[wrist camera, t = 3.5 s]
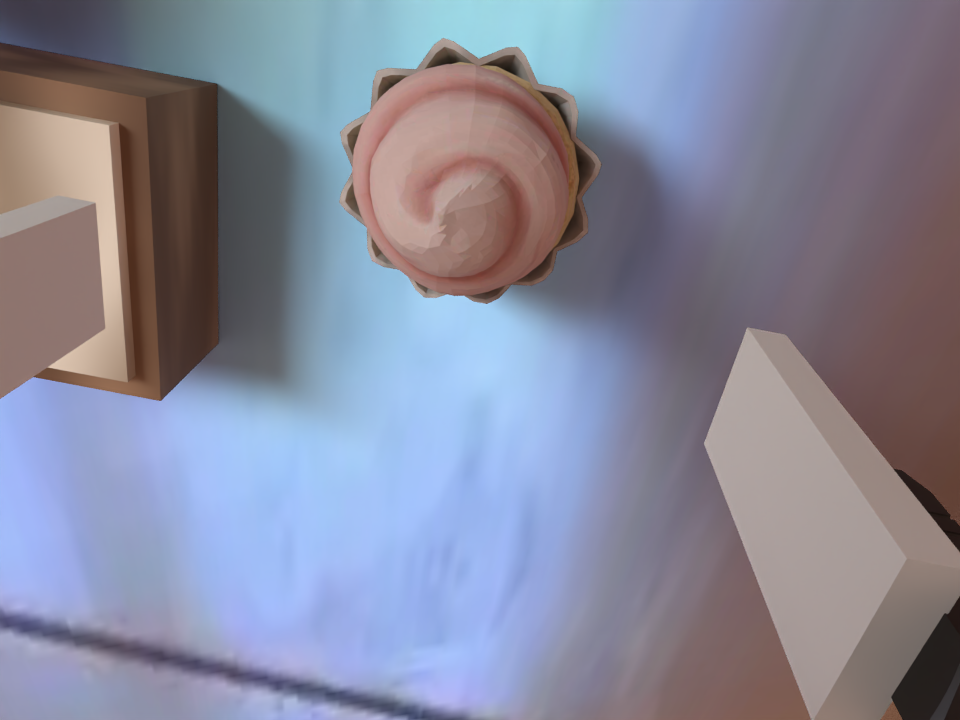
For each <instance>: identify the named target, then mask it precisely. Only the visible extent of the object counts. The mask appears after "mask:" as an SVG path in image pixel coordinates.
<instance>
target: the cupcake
mask: <svg viewBox="0 0 960 720" xmlns="http://www.w3.org/2000/svg"><path fill="white" fill-rule="evenodd" d="M577 118H578V109H577V106H576V103H575V99H574V97H573V96H572V95H570V94H569V93H568V92H566V91H565V90H563V89H562V88H556V87H551V86H546V85H541V84H538V82H537V80H536V78H535V76H534V73H533V71H532V69H531V67H530V65H529V62H528V60H527V58H526V56H525V55H524V53H523V52H522V51H521V50H520V49H519V48H518V47H509V48H505V49H502V50H500V51H497V52H495V53H492V54H490V55H487V56H485V57H482V58H480V59H478V58H477V57H475V56H474V55H473V54H471V53H470V52H468V51H467V50H465V49H464V48H463V47H461V46H460V45H458V44H457V43H455V42H454V41H451V40H448V39H445V38H442V39H441V40H440V41H439V42H437V43H436V44H435V45H434V46H433V47H432V48H431V50H430V51H429V53H428V54H427V55H426V57H425V58H424V59H423V61H422V62H421V64H420V65H419V66H418V68H417V69H396V68H386V69H382V70H379V71H377V73H376V75H375V78H374V81H373V89H372V100H371V111H370V112H368V113H367V114H365V115H363V116H361V117H360V118H358V119H356V120H354V121H353V122H351V123H349V124H347V125H346V126H345V128H344V129H343V130H342V131H341V132H340V134H341V141H342V145H343V147H344V149H345V151H346V154H347V156H348V158H349V161H350V163H351V165H352V173H351V175H350V177H349V179H348V181H347V183H346V184H345V186H344V188H343V190H342V192H341V196H340V201H339V202H340V204H341V205H342V206H343V208H344V209H345V210H346V211H347V212H348V213H349V214H351V215H352V216H353V217H354V218H356V219H357V220H358V221H359V222H361V223H362V224H363V225H364V226H366V227H367V247H368V251H369V254H370V257H371V259H372V261H374V262H375V263H377V264H379V265H381V266H383V267H387V268H393V269H398V270H400V271H401V272H403V273H404V274H405V275H407V276H408V277H409V279H410V281H411V282H412V284H413V286H414V288H415V289H416V290H417V291H418V292H419V293H420V294H421V295H422V296H423V297H425V298H437V297H440V296H443V295H446V294H449V295H454V296H465V297H467V298H469V299H470V300H472V301H474V302H480V303H485V304H488V303H490V302H492V301H494V300H496V299H498V298H500V297H501V295H502V294H503V293H504V292H505V291H506V290H507V289H508V288H509V287H510V286H511V285H512V284H514V285H529V286H532V285H534V284H537V283H539V282H541V281H544V280H545V279H546V277H547V276H548V275H549V274H550V273H551V272H552V271H553V267H554V263H555V259H556V254H557V251H559V250H561V249H563V248H565V247H568V246H570V245H572V244H574V243H576V242H578V241H579V240H580V239H581V238H582V237H583V236H584V235H586V234H587V233H588V217H587V214H586V211H585V208H584V204H583V201H582V196H583V195H584V194H585V192H586V191H587V189H588V188H589V187H590V185H591V184H592V182H593V181H594V180H595V178H596V177H597V175H598V173H599V171H600V168H601V165H602V164H601V162H600V160H599V159H598V157H597V155H596V154H595V153H594V152H592V151H591V150H590V149H589V148H588V147H587V146H586V145H585V144H584V143H583V142H582V141H580V140H579V139H578V138H577V137H576V128H577Z"/></svg>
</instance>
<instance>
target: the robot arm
mask: <svg viewBox="0 0 960 720" xmlns="http://www.w3.org/2000/svg"><path fill="white" fill-rule="evenodd" d="M104 329H105V317H104V304H103V291H102V278H101V265H100V252H99V239H98V225H97V212H96V203H95V202H90V201H84V200H79V199H74V198H69V197H64V196H55V197H52V198H48V199H45V200H42V201H39V202H36V203H33V204H30V205H27V206H24V207H21V208H18V209H15V210H12V211H9V212H6V213H3V214H0V399H1V398H2V397H4V396H5V395H7V394H8V393H10V392H11V391H13V390H14V389H16V388H17V387H19V386H20V385H22V384H23V383H25V382H26V381H28V380H29V379H31V378H32V377H34V376H35V375H37V374H38V373H40V372H41V371H43V370H44V369H46V368H47V367H49V366H50V365H52V364H53V363H55V362H56V361H58V360H59V359H61V358H62V357H64V356H65V355H67V354H68V353H70V352H71V351H73V350H74V349H76V348H77V347H79V346H80V345H82V344H83V343H85V342H86V341H88V340H89V339H91V338H92V337H93V336H95V335H96V334H98V333H99V332H101V331H102V330H104ZM704 445H705V447H706V450H707V452H708V455H709V457H710V460H711V463H712V465H713V468H714V470H715V473H716V476H717V478H718V481H719V483H720V486H721V488H722V491H723V494H724V496H725V499H726V501H727V504H728V506H729V509H730V512H731V514H732V517H733V519H734V522H735V524H736V527H737V530H738V532H739V535H740V537H741V540H742V542H743V545H744V548H745V550H746V553H747V555H748V558H749V560H750V563H751V566H752V568H753V571H754V573H755V576H756V578H757V581H758V584H759V586H760V589H761V591H762V594H763V596H764V599H765V602H766V604H767V607H768V609H769V612H770V614H771V617H772V620H773V622H774V625H775V627H776V630H777V632H778V635H779V638H780V640H781V643H782V645H783V648H784V650H785V653H786V656H787V658H788V661H789V663H790V666H791V669H792V671H793V674H794V676H795V679H796V681H797V684H798V687H799V689H800V692H801V694H802V697H803V699H804V702H805V705H806V707H807V710H808V712H809V715H810V717H811V720H880V719H881V718H882V716H883V715H884V713H885V712H886V710H887V708H888V707H889V705H890V704H891V702H892V701H893V702H894V704H895V706H896V708H897V710H898V712H899V714H900V715H901V717H902V719H903V720H960V526H959V525H958V524H957V523H956V521H955V520H951V519H950V516H951V515H950V514H949V513H948V512H947V511H946V510H945V508H944V507H943V506H942V505H941V504H940V502H939V501H938V500H937V499H936V498H935V496H934V495H933V494H932V493H931V492H930V491H928V490H927V489H926V488H924V487H923V486H922V485H920V484H919V483H918V482H916V481H915V480H914V479H912V478H911V477H910V476H908V475H907V474H906V473H905V472H903V471H902V470H897V469H893V468H892V467H891V466H890V464H889V463H888V462H887V461H886V459H885V458H884V457H883V456H882V454H881V453H880V452H879V451H878V449H877V448H876V447H875V446H874V444H873V443H872V442H871V441H870V439H869V438H868V437H867V436H866V435H865V433H864V432H863V431H862V430H861V428H860V427H859V426H858V425H857V423H856V422H855V421H854V420H853V418H852V417H851V416H850V415H849V413H848V412H847V411H846V410H845V408H844V407H843V406H842V405H841V403H840V402H839V401H838V400H837V398H836V397H835V396H834V395H833V393H832V392H831V391H830V390H829V388H828V387H827V386H826V385H825V383H824V382H823V381H822V380H821V378H820V377H819V376H818V375H817V373H816V372H815V371H814V370H813V368H812V367H811V366H810V365H809V363H808V362H807V361H806V360H805V358H804V357H803V356H802V355H801V353H800V352H799V351H798V350H797V348H796V347H795V346H794V345H793V343H792V342H791V341H790V340H789V338H788V337H787V336H786V335H784V334H779V333H774V332H769V331H763V330H758V329H753V328H748V327H747V330H746V333H745V335H744V338H743V341H742V343H741V346H740V349H739V351H738V354H737V357H736V359H735V362H734V365H733V367H732V370H731V373H730V375H729V378H728V381H727V384H726V386H725V389H724V392H723V394H722V397H721V400H720V402H719V405H718V408H717V410H716V413H715V416H714V418H713V421H712V424H711V426H710V429H709V432H708V434H707V437H706V440H705V443H704Z"/></svg>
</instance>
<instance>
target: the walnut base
mask: <svg viewBox="0 0 960 720" xmlns="http://www.w3.org/2000/svg"><path fill="white" fill-rule="evenodd" d="M55 196H64V197H69V198H74V199H79V200H84V201H90V202H95V203H96V212H97V225H98V239H99V252H100V265H101V278H102V291H103V304H104V317H105V329H104V330H102V331H101V332H99V333H98V334H96V335H95V336H93V337H92V338H91V339H89V340H88V341H86V342H85V343H83V344H82V345H80V346H79V347H77V348H76V349H74V350H73V351H71V352H70V353H68V354H67V355H65V356H64V357H62V358H61V359H59V360H58V361H56V362H55V363H53V364H52V365H50V366H49V367H47V368H46V369H44V370H43V371H41V372H40V373H38V374H37V375H35V376H34V377H36V378H41V379H47V380H52V381H57V382H63V383H68V384H73V385H79V386H84V387H89V388H95V389H100V390H105V391H111V392H116V393H121V394H127V395H132V396H137V397H143V398H148V399H153V400H159V401H161V400H162V399H163V398H164V397H165V396H166V395H167V394H168V393H169V392H170V391H171V390H172V389H173V388H174V387H175V386H176V385H177V384H178V383H179V382H180V381H181V380H182V379H183V378H184V377H185V376H186V375H187V374H188V373H189V372H190V371H191V370H192V369H193V368H194V367H195V366H196V365H197V364H198V363H199V362H200V361H201V360H202V359H203V358H204V357H205V356H206V355H207V354H208V353H209V352H210V351H211V350H212V349H213V348H214V347H215V346H216V345H217V344H218V143H217V84H215V83H210V82H205V81H200V80H194V79H189V78H184V77H178V76H173V75H168V74H163V73H157V72H152V71H147V70H141V69H136V68H131V67H126V66H120V65H115V64H110V63H105V62H99V61H94V60H89V59H83V58H78V57H73V56H68V55H62V54H57V53H52V52H46V51H41V50H36V49H31V48H25V47H20V46H15V45H10V44H4V43H0V214H3V213H6V212H9V211H12V210H15V209H18V208H21V207H24V206H27V205H30V204H33V203H36V202H39V201H42V200H45V199H48V198H52V197H55Z"/></svg>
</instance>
